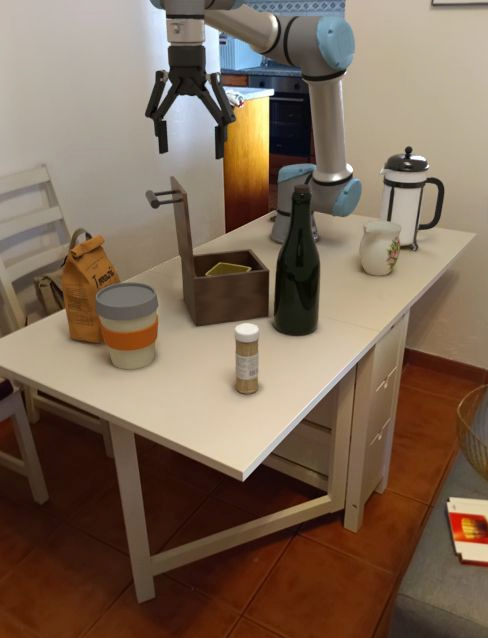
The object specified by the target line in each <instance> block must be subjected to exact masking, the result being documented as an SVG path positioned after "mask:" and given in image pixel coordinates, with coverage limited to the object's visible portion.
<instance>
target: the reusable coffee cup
mask: <svg viewBox="0 0 488 638" xmlns="http://www.w3.org/2000/svg"><path fill="white" fill-rule="evenodd" d="M159 305H160V304H159V299H158V295H157V291H156V289H155V288H154V287H153V286H152V285H150V284H146V283H142V282H134V281H133V282H120V283H118V284H114V285H110V286H107V287H105V288H103V289H101V290H100V291H99V292H98V293H97V294H96V312H97V313H98V314H99V317H100V320H99V325H100V328H101V332H102V335H103V342H104V344H105V345H106V346H107V349H108V353H109V356H110V360H111V362H112V364H113V365H114V366H115V367H117V368H119V369H123V370H138V369H142V368H145V367H147V366H148V365H150V364H152V363H153V361H154V360H155V351H156V341H157V339H158V333H159V332H158V331H159V315H158V308H159V307H160V306H159Z"/></svg>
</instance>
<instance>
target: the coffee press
mask: <svg viewBox="0 0 488 638" xmlns="http://www.w3.org/2000/svg"><path fill="white" fill-rule="evenodd" d="M413 151H414V150H413V147H412V146H410V145H408V146H406V147H405V149H404V152H405V153H396V154H393V155H391V156H389V157H388V158H387V160H386V162H385V163H384V165H383V167H382V168H381V169H380V171H379V173H378V174H379V175H383V179H382V183H383V187H382V195H381V205H380V211H379V213H380V214H379V220H378V221H389V222H393V223H396V224H398V225H400V226H401V232H400V234H399V240H400V247H403V246H404V247H405V246H409V247H410V249H411V250H412V251H416V250H418V249H419V244H418V243H417V238H418V233H419V231H427V230H431V229H433V228H435V227H436V226H437V225H438V224H439V222H440V220H441V217H442V211H443V205H444V199H445V191H446V190H445V185H444V183H443V182H442V180H440V179H439V178H437V177H434V176H430V177H427V173H428V171H429V168H430V165H429V164H428V160H427V159H426V157H424V156H422V155H419V154H414V153H412V152H413ZM427 184H431V185H435V186H436V187H437V198H436V204H435V208H434V215H433V219H432V220H431V221H430V222H428V223H420V219H421V215H422V206H423V201H424V193H425V187H426V186H427Z"/></svg>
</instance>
